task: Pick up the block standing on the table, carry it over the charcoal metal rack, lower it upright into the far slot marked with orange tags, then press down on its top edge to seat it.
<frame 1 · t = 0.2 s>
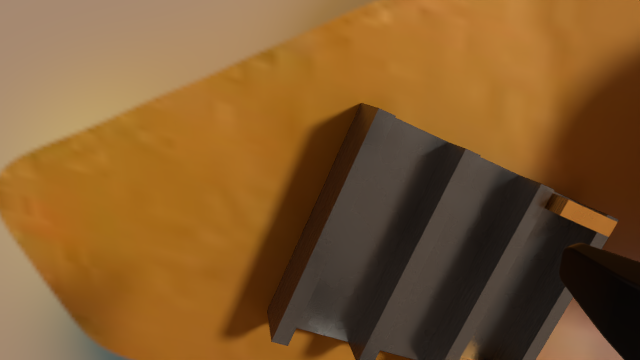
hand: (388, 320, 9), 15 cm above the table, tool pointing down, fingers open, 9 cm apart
rack: (431, 255, 27), on the table
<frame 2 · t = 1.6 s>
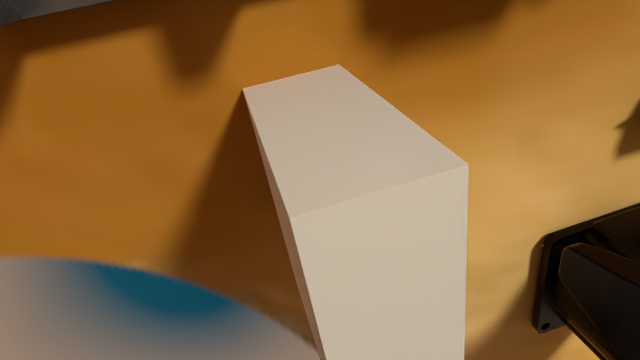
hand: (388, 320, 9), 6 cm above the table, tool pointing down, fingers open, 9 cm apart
block: (314, 186, 14), on the table
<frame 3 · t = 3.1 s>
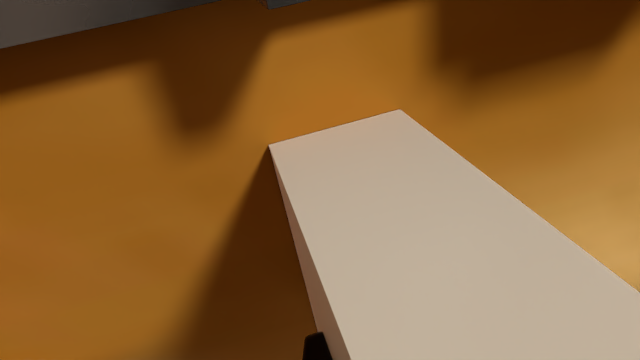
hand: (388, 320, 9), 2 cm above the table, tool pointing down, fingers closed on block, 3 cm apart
block: (358, 262, 11), on the table, touching gripper
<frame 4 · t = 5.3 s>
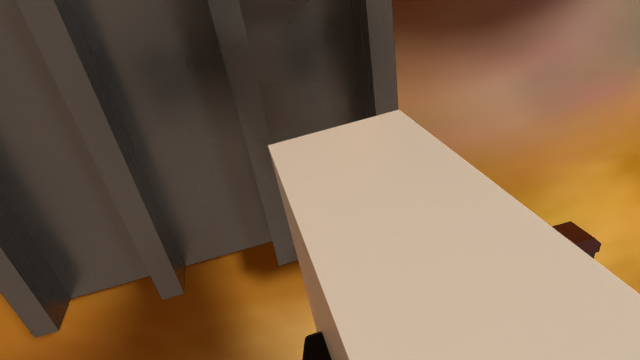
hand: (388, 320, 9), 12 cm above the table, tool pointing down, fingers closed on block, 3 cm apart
toy gun: (500, 279, 30), on the table
rack: (187, 119, 18), on the table
block: (357, 263, 11), point 10 cm above the table, touching gripper
when the fingers open (4 cm above the table, at t = 7.5 s): block drops 1 cm, resting on rack.
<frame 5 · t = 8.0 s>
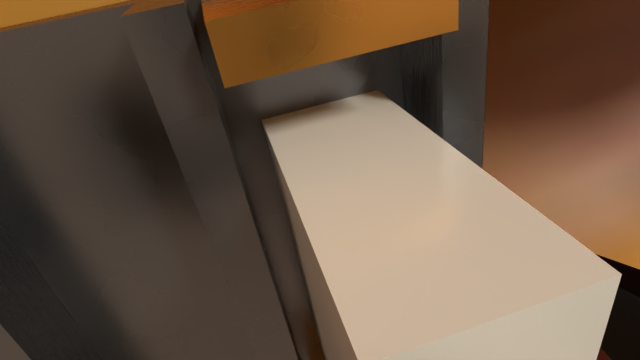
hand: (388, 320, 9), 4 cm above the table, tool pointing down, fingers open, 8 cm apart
rack: (156, 265, 12), on the table
block: (342, 230, 12), point 1 cm above the table, touching rack
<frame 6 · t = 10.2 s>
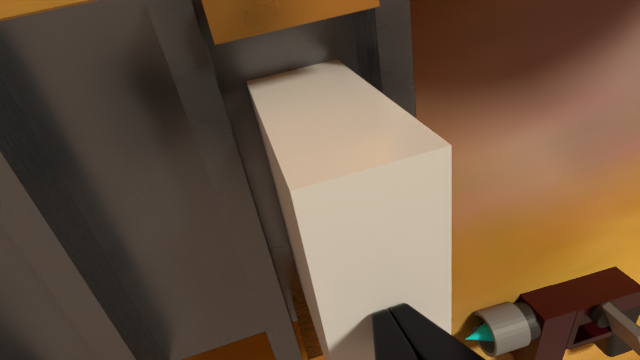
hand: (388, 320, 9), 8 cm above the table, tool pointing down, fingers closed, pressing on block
toy gun: (531, 327, 27), on the table
rack: (164, 204, 15), on the table
block: (313, 176, 15), point 1 cm above the table, touching gripper, rack
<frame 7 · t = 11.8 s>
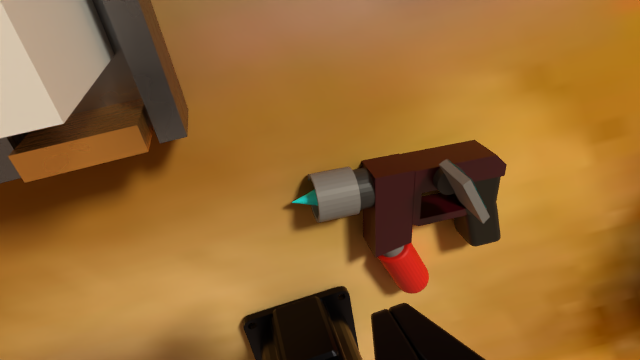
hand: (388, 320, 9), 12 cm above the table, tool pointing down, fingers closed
toy gun: (391, 214, 24), on the table
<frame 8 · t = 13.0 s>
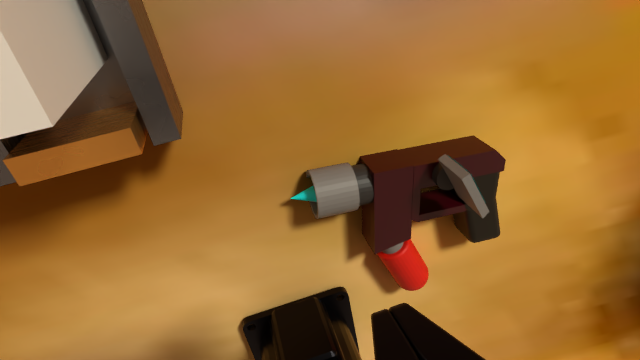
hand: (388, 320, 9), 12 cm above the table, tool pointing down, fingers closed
toy gun: (390, 211, 24), on the table
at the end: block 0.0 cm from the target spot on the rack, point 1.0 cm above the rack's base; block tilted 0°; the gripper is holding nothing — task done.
